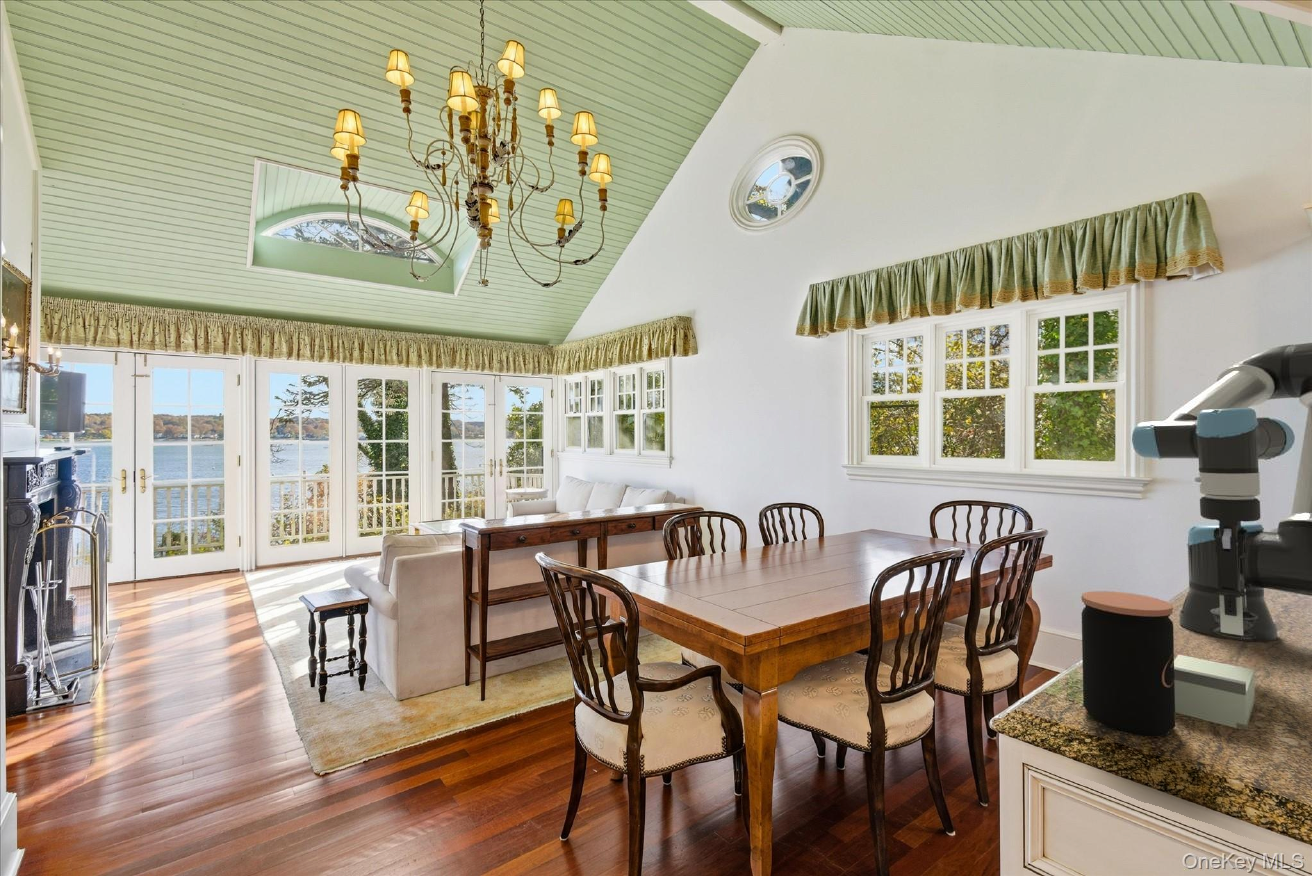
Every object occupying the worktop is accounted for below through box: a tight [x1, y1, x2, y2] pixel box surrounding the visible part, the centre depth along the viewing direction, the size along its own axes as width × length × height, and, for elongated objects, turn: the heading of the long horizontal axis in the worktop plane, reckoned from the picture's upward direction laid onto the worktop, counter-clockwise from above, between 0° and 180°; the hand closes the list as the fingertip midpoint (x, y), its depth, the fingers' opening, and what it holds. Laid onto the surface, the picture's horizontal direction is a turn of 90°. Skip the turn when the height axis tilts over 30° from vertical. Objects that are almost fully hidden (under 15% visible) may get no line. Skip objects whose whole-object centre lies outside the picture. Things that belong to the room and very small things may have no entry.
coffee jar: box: [1080, 590, 1176, 738], centre depth 87 cm, size 11×11×18 cm
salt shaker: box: [1211, 573, 1258, 639], centre depth 102 cm, size 6×6×12 cm
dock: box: [1174, 654, 1256, 732], centre depth 91 cm, size 14×9×7 cm, turn 131°
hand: (1234, 628), depth 102 cm, fingers closed on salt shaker, 6 cm apart
